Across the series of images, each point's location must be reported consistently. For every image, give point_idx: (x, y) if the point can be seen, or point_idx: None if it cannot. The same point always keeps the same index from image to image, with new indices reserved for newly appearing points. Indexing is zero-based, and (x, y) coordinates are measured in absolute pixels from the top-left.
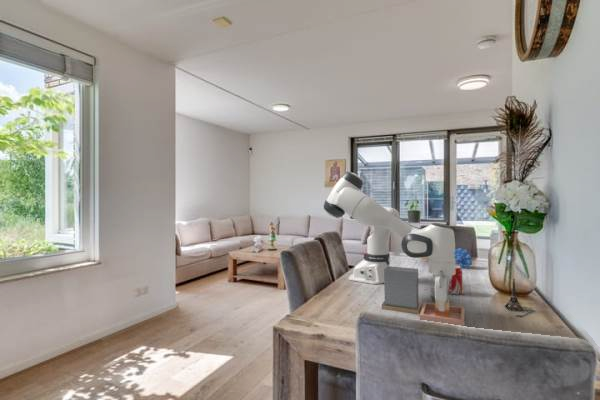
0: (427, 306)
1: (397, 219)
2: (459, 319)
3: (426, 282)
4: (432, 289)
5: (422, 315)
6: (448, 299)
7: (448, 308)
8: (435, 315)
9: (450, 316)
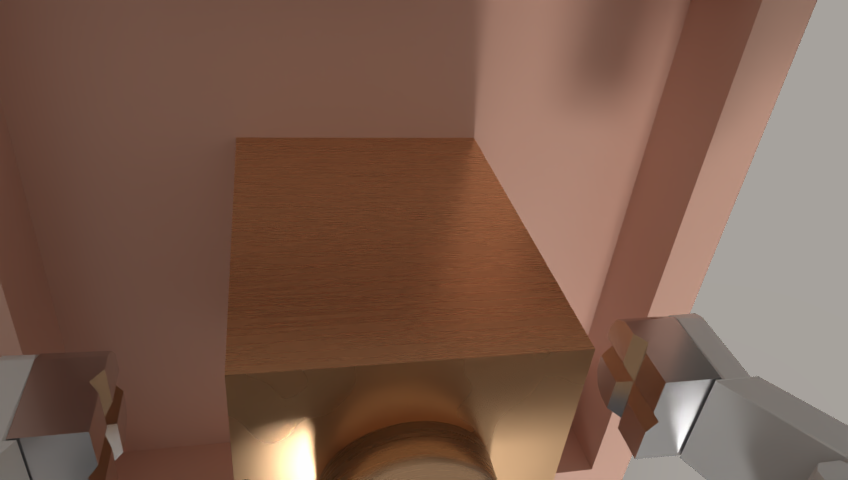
0: None
1: None
2: (764, 7)
3: None
4: None
5: (622, 462)
6: (326, 386)
7: (536, 262)
8: None
9: (319, 123)
